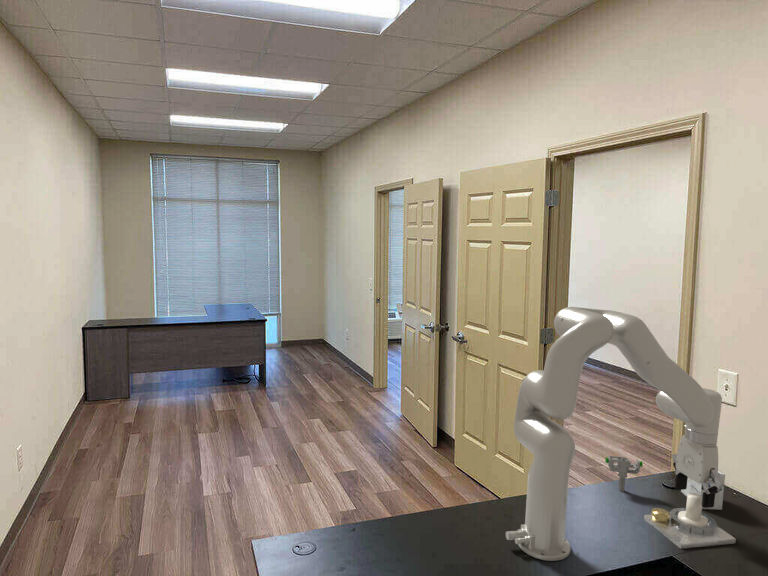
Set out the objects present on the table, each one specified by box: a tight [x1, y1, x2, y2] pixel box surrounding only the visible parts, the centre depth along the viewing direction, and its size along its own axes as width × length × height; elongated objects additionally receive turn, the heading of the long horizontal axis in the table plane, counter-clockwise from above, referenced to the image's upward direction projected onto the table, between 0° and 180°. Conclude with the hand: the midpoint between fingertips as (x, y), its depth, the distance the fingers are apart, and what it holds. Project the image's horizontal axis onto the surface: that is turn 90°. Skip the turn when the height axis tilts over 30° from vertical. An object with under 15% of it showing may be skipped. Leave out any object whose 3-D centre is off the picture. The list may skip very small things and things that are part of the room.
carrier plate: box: [643, 507, 737, 549], centre depth 146 cm, size 16×14×3 cm
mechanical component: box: [604, 455, 643, 493], centre depth 167 cm, size 3×10×10 cm, turn 78°
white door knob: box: [678, 493, 708, 527], centre depth 148 cm, size 7×7×8 cm
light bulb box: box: [680, 469, 726, 511], centre depth 163 cm, size 11×7×11 cm, turn 179°
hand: (693, 497), depth 147 cm, fingers open, 9 cm apart
